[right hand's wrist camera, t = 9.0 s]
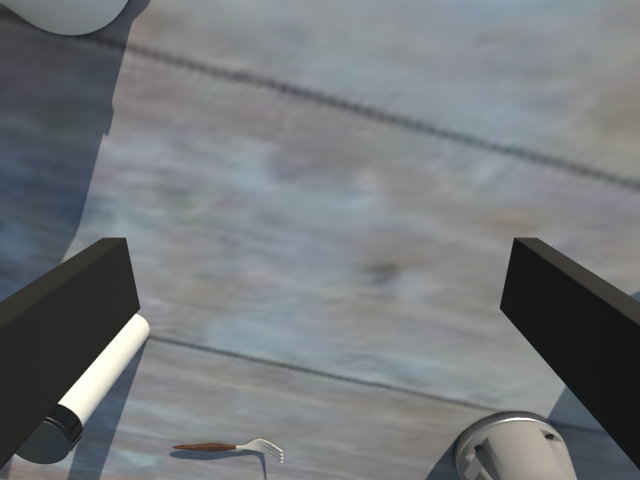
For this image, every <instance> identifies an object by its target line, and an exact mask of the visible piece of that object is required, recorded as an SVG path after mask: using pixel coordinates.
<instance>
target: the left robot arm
mask: <svg viewBox="0 0 640 480" xmlns="http://www.w3.org/2000/svg"><path fill="white" fill-rule="evenodd" d="M127 1H128V0H0V4H2V5H4V6H5V7H7V8H9V9H10V10H12V11H13V12H15V13H16V14H17V15H18V16H20V17H21V18H23V19H24V20H26V21H27V22H29V23H31V24H32V25H34V26H36V27H39V28H41V29H43V30H46V31H49V32H52V33H56V34H62V35H82V34H87V33H91V32H94V31H96V30H99V29H101V28H103V27H104V26H106V25H107V24H109V23H110V22H111V21H112V20H114V19H115V18H116V17H117V16H118V14H119V13H120V12H121V11H122V9H123V8H124V6H125V5H126V3H127Z"/></svg>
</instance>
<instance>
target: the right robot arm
mask: <svg viewBox="0 0 640 480" xmlns="http://www.w3.org/2000/svg"><path fill="white" fill-rule="evenodd" d="M139 309H140V304H139V299H138V295H137V290H136V285H135V280H134V275H133V270H132V265H131V261H130V256H129V251H128V246H127V241H126V238H102V239H100V240H99V241H97V242H96V243H94V244H92V245H91V246H89V247H88V248H86V249H84V250H83V251H81V252H80V253H78V254H76V255H75V256H73V257H72V258H70V259H69V260H67V261H65V262H64V263H62V264H61V265H59V266H57V267H56V268H54V269H53V270H51V271H49V272H48V273H46V274H45V275H43V276H42V277H40V278H38V279H37V280H35V281H34V282H32V283H30V284H29V285H27V286H26V287H24V288H23V289H21V290H19V291H18V292H16V293H15V294H13V295H11V296H10V297H8V298H7V299H5V300H3V301H2V302H0V470H1V468H2V467H3V466H4V465H5V464H6V463H7V462H8V460H9V459H10V458H11V457H12V456H13V455H14V453H15V452H16V451H17V450H18V449H19V448H20V447H21V445H22V444H23V443H24V442H25V441H26V440H27V438H28V437H29V436H30V435H31V434H32V433H33V432H34V430H35V429H36V428H37V427H38V426H39V425H40V424H41V422H42V421H43V420H44V419H45V418H46V417H47V415H48V414H49V413H50V412H51V411H52V410H53V409H54V407H55V406H56V405H57V404H58V403H59V402H60V400H61V399H62V398H63V397H64V396H65V395H66V394H67V392H68V391H69V390H70V389H71V388H72V387H73V385H74V384H75V383H76V382H77V381H78V380H79V379H80V377H81V376H82V375H83V374H84V373H85V372H86V370H87V369H88V368H89V367H90V366H91V365H92V364H93V362H94V361H95V360H96V359H97V358H98V357H99V355H100V354H101V353H102V352H103V351H104V350H105V349H106V347H107V346H108V345H109V344H110V343H111V342H112V340H113V339H114V338H115V337H116V336H117V335H118V334H119V332H120V331H121V330H122V329H123V328H124V327H125V325H126V324H127V323H128V322H129V321H130V320H131V319H132V317H133V316H134V315H135V314H136V313H137V312H138V310H139ZM500 309H501V310H502V312H503V313H504V314H505V315H506V316H507V317H508V319H509V320H510V321H511V322H512V323H513V324H514V325H515V327H516V328H517V329H518V330H519V331H520V332H521V334H522V335H523V336H524V337H525V338H526V339H527V340H528V342H529V343H530V344H531V345H532V346H533V347H534V349H535V350H536V351H537V352H538V353H539V354H540V355H541V357H542V358H543V359H544V360H545V361H546V362H547V364H548V365H549V366H550V367H551V368H552V369H553V370H554V372H555V373H556V374H557V375H558V376H559V377H560V379H561V380H562V381H563V382H564V383H565V384H566V385H567V387H568V388H569V389H570V390H571V391H572V392H573V394H574V395H575V396H576V397H577V398H578V399H579V400H580V402H581V403H582V404H583V405H584V406H585V407H586V409H587V410H588V411H589V412H590V413H591V414H592V415H593V417H594V418H595V419H596V420H597V421H598V422H599V424H600V425H601V426H602V427H603V428H604V429H605V430H606V432H607V433H608V434H609V435H610V436H611V437H612V438H613V440H614V441H615V442H616V443H617V444H618V445H619V447H620V448H621V449H622V450H623V451H624V452H625V453H626V455H627V456H628V457H629V458H630V459H631V460H632V462H633V463H634V464H635V465H636V466H637V467H638V468H639V470H640V302H638V301H637V300H635V299H633V298H632V297H630V296H629V295H627V294H625V293H624V292H622V291H621V290H619V289H617V288H616V287H614V286H613V285H611V284H610V283H608V282H606V281H605V280H603V279H602V278H600V277H598V276H597V275H595V274H594V273H592V272H591V271H589V270H587V269H586V268H584V267H583V266H581V265H579V264H578V263H576V262H575V261H573V260H571V259H570V258H568V257H567V256H565V255H564V254H562V253H560V252H559V251H557V250H556V249H554V248H552V247H551V246H549V245H548V244H546V243H544V242H543V241H541V240H540V239H538V238H514V241H513V246H512V251H511V256H510V261H509V265H508V270H507V275H506V280H505V285H504V290H503V295H502V299H501V304H500ZM453 459H454V464H455V466H456V469H457V472H458V475H459V477H460V479H461V480H577V477H576V474H575V471H574V468H573V465H572V462H571V459H570V456H569V452H568V449H567V447H566V444H565V441H564V440H563V438H562V437H561V435H560V434H559V432H558V431H557V430H556V428H555V427H554V425H553V424H552V423H551V422H549V421H548V420H547V419H545V418H544V417H542V416H540V415H537V414H534V413H530V412H523V411H509V412H502V413H497V414H494V415H491V416H488V417H486V418H483V419H481V420H479V421H478V422H476V423H474V424H473V425H472V426H470V427H469V428H468V429H467V430H466V431H465V432H464V433H463V434H462V435H461V436H460V438H459V439H458V441H457V443H456V445H455V448H454V452H453Z"/></svg>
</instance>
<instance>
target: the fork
mask: <svg viewBox="0 0 640 480" xmlns="http://www.w3.org/2000/svg"><path fill="white" fill-rule="evenodd" d="M267 444H269V445H271V446H273V447H275V448H276V449H278V450H280V451H281V452H283V451H282V450H281V449H279V448H278V447H276V446H275V445H273V444H271V443H270V442H268V441H266V440H263V439H256V440H253V441H252V442H250V443H249V444H247V445H244V446H236V445H227V444H217V443H208V444H196V445H179V446H173V448H175V449H184V450H198V451H224V450H234V449H249V450H254V451H258V452H262V453H265V454H268V455H270V456H272V457H274V458H275V459H277V460H279V461H280V462H282V463H283V461H281V460H280V459H279V458H281V459H283V458H282V457H281V456H279V455H278V454H276V453H275V452H277V453H279V454H280V455H282V456H283V454H281V453H280V452H278V451H277V450H275V449H274V448H272V447H271V446H269V445H267ZM268 448H270V449H272V450H274V451H275V452H273V451H271V450H270V449H268ZM268 451H269V452H271V453H273V454H275V455H276V456H278V457H279V458H277V457H276V456H274V455H272V454H271V453H269V452H268Z"/></svg>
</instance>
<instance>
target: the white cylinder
mask: <svg viewBox="0 0 640 480" xmlns="http://www.w3.org/2000/svg"><path fill="white" fill-rule="evenodd" d="M149 333H150V328H149V325H148V323H147V322H146V320H145V319H144V318H142V317H141V316H139V315H137V314H135V315H134V316H133V317H132V319H131V320H130V321H129V322H128V323H127V324H126V325H125V327H124V328H123V329H122V330H121V331H120V332H119V334H118V335H117V336H116V337H115V338H114V339H113V340H112V342H111V343H110V344H109V345H108V346H107V347H106V349H105V350H104V351H103V352H102V353H101V354H100V355H99V357H98V358H97V359H96V360H95V361H94V362H93V364H92V365H91V366H90V367H89V368H88V369H87V370H86V372H85V373H84V374H83V375H82V376H81V377H80V379H79V380H78V381H77V382H76V383H75V384H74V385H73V387H72V388H71V389H70V390H69V391H68V392H67V394H66V395H65V396H64V397H63V398H62V399H61V400H60V402H59V404H62V405H64V406H66V407H68V408H69V409H71V410H72V411H73V412H74V413H75V414H76V415H77V416H78V417H79V419H80V420H81V423H82V427H83V425H84V424H85V423H86V421H87V420H88V418H89V417H90V416H91V414H92V413H93V412H94V410H95V409H96V407H97V406H98V405H99V403H100V402H101V401H102V399H103V398H104V396H105V395H106V394H107V392H108V391H109V390H110V388H111V387H112V385H113V384H114V383H115V381H116V380H117V379H118V377H119V376H120V374H121V373H122V372H123V370H124V369H125V368H126V366H127V365H128V363H129V362H130V361H131V359H132V358H133V357H134V355H135V354H136V353H137V351H138V350H139V348H140V347H141V346H142V344H143V343H144V342H145V340H146V339H147V337H148V336H149Z"/></svg>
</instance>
